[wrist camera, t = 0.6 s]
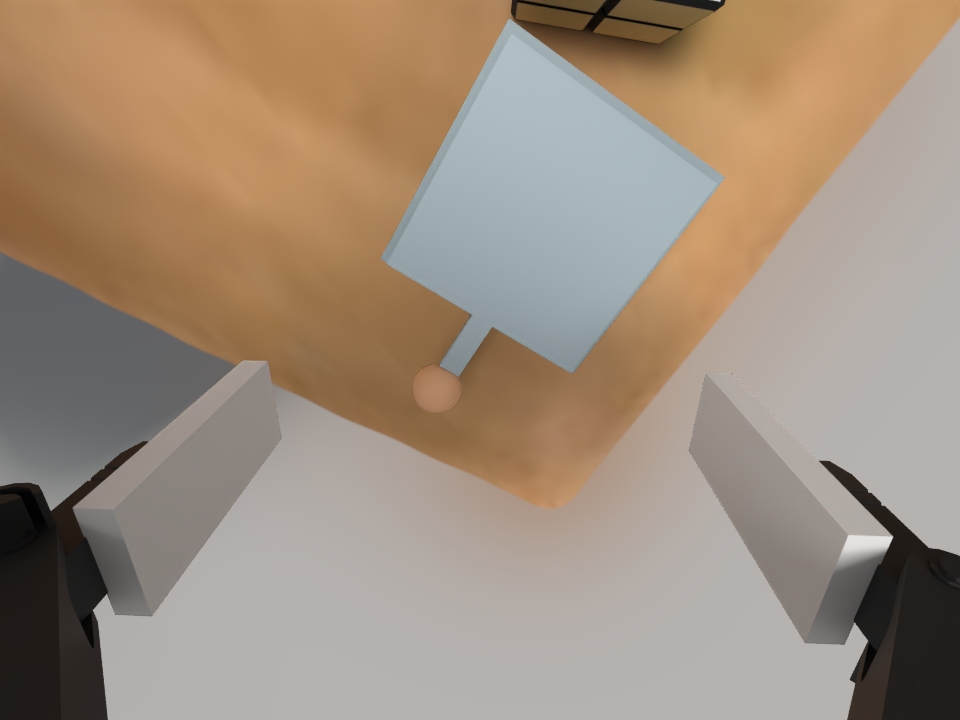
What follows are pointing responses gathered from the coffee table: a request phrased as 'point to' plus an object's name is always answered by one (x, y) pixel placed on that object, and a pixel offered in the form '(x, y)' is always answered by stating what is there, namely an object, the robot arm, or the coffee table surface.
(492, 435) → the coffee table surface
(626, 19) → the puzzle cube
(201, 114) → the coffee table surface
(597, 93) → the carton
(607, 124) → the flap
